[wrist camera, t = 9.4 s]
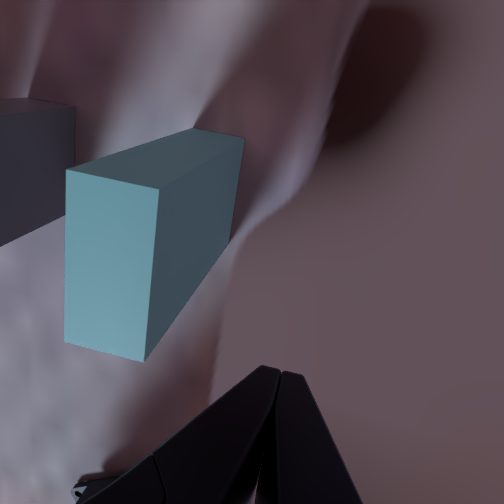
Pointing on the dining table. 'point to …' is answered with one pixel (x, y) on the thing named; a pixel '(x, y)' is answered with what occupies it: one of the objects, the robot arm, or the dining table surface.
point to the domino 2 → (145, 237)
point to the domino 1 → (33, 164)
